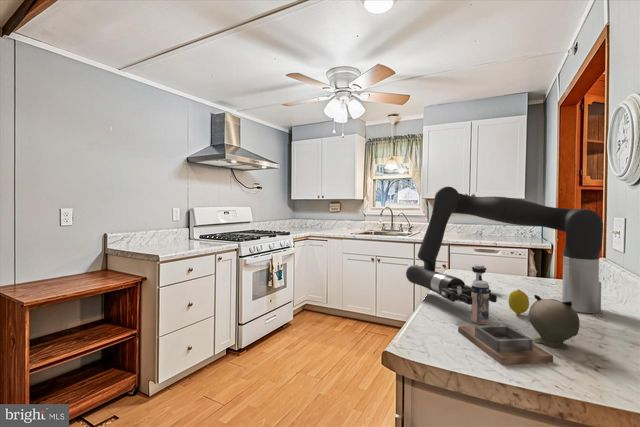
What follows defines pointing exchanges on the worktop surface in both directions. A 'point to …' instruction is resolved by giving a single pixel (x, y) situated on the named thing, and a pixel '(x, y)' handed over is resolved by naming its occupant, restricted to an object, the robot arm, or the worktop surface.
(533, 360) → the walnut dock
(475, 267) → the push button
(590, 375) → the worktop surface
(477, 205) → the robot arm
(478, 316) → the beer can
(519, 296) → the lemon
